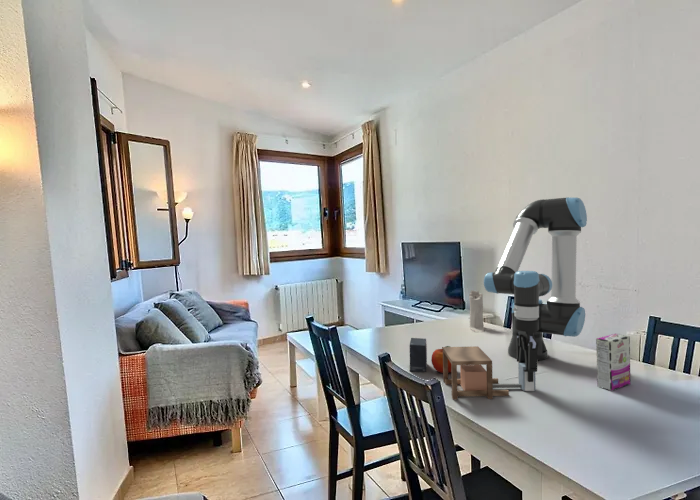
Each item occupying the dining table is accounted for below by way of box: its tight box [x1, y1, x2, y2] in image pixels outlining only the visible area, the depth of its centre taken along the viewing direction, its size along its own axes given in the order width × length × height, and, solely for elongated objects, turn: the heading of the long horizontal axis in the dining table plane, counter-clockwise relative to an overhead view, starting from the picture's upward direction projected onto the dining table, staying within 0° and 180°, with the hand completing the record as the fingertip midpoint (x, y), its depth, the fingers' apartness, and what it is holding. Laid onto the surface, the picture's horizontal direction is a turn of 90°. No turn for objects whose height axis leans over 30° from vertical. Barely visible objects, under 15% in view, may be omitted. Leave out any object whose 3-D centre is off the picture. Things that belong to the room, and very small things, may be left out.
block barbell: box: [459, 362, 537, 392], centre depth 136 cm, size 23×7×8 cm, turn 87°
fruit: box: [430, 345, 452, 374], centre depth 155 cm, size 10×10×10 cm
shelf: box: [442, 345, 510, 400], centre depth 136 cm, size 18×16×12 cm
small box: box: [409, 337, 428, 373], centre depth 160 cm, size 11×6×10 cm, turn 168°
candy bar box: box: [595, 333, 632, 392], centre depth 136 cm, size 11×5×16 cm, turn 117°
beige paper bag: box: [468, 290, 486, 333], centre depth 218 cm, size 7×14×20 cm, turn 170°
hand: (526, 387), depth 136 cm, fingers closed on block barbell, 4 cm apart
